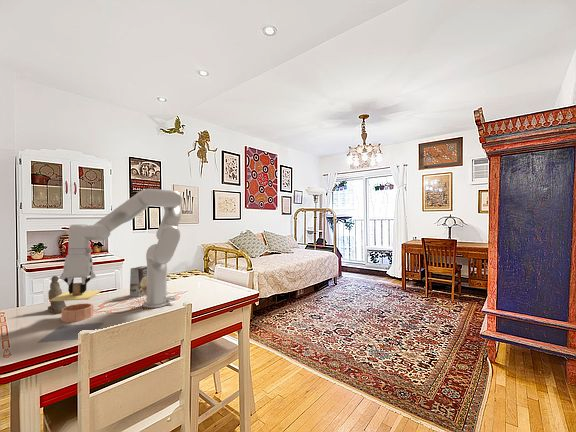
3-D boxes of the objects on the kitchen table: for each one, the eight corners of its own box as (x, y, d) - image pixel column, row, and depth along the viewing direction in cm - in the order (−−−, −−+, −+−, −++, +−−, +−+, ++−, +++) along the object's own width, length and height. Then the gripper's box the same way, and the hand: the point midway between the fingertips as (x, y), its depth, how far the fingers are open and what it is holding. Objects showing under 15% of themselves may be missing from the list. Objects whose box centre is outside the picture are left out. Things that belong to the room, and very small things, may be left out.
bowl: (96, 313, 131) (97, 302, 131) (86, 321, 121) (86, 310, 121) (69, 315, 128) (69, 304, 129) (55, 323, 118) (56, 312, 118)
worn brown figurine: (47, 314, 135) (44, 277, 138) (61, 311, 140) (58, 275, 142) (54, 314, 129) (51, 275, 131) (68, 311, 133) (66, 273, 135)
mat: (104, 323, 119) (104, 322, 119) (88, 339, 103) (88, 338, 103) (60, 327, 114) (60, 325, 114) (36, 344, 99) (36, 342, 99)
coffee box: (139, 297, 159) (140, 269, 159) (129, 296, 160) (129, 268, 160) (149, 293, 168) (150, 266, 168) (140, 292, 169) (140, 266, 169)
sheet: (101, 291, 133) (101, 279, 133) (88, 299, 120) (88, 286, 120) (66, 292, 129) (67, 280, 130) (49, 301, 116) (50, 287, 116)
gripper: (103, 250, 131) (101, 290, 130) (61, 251, 126) (60, 291, 126) (96, 252, 123) (95, 294, 123) (52, 253, 119) (50, 296, 119)
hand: (77, 292), depth 125 cm, fingers closed on sheet, 3 cm apart
